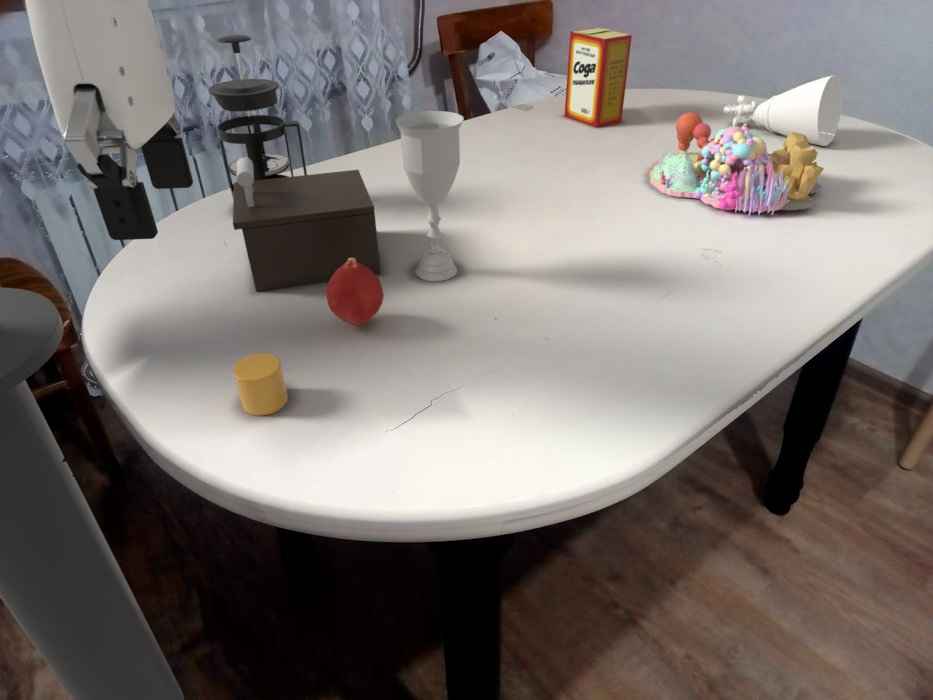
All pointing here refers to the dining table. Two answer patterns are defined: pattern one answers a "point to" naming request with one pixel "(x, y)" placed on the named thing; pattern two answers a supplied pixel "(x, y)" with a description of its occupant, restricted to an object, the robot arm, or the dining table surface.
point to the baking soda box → (597, 76)
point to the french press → (252, 120)
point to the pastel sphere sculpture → (738, 169)
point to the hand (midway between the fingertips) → (155, 210)
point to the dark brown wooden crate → (310, 250)
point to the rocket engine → (797, 111)
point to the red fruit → (354, 293)
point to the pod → (260, 384)
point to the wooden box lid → (296, 197)
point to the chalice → (431, 176)
